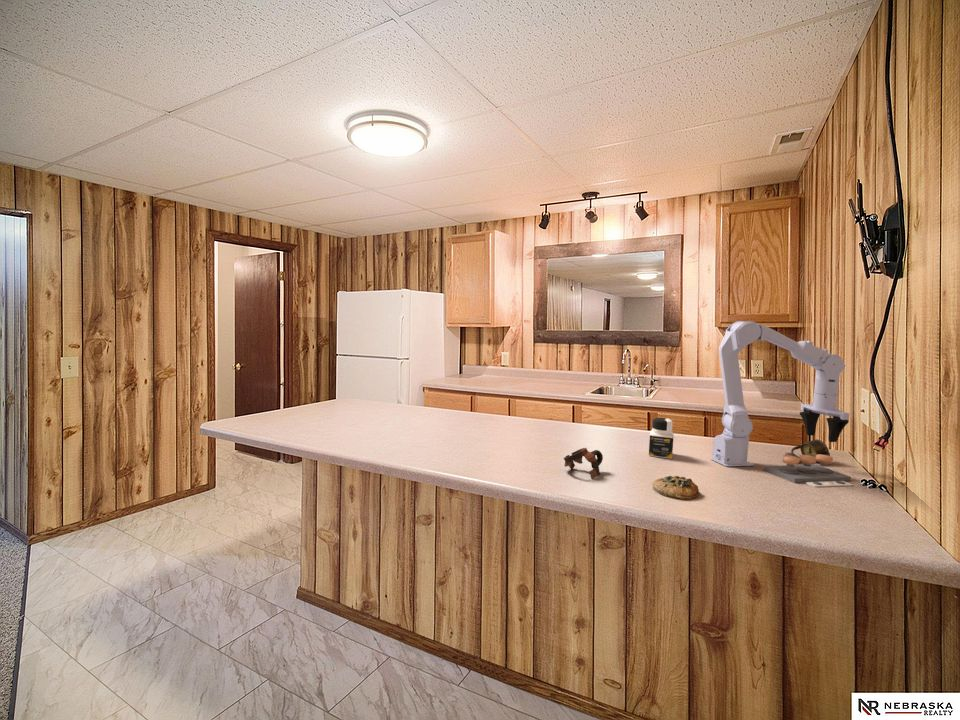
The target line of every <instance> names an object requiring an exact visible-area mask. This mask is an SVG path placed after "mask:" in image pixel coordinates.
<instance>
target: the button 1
mask: <svg viewBox="0 0 960 720" xmlns="http://www.w3.org/2000/svg"><path fill="white" fill-rule="evenodd" d="M798 457H799V456H798ZM798 457H795V456H790V455H785V454H784V455H782V463H785V464H786V466H789V467H794V465H800V462H799V459H800V458H798Z"/></svg>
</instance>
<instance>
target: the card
mask: <svg viewBox="0 0 960 720" xmlns="http://www.w3.org/2000/svg"><path fill="white" fill-rule="evenodd" d="M805 484H807V485H809V486H811V487H814V488H819V487H820V488H822V487H823V488H824V487H825V488H826V487H847V486H848V487H852V486H854V484H853V483H850V482H848V481H823V482H805Z"/></svg>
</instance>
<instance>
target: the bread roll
mask: <svg viewBox="0 0 960 720" xmlns="http://www.w3.org/2000/svg"><path fill="white" fill-rule="evenodd" d="M651 485H652V491H655V492H656V493H658V494H660V495H662V496H665V497H669V498H677V499H680V500H681V499H682V500H691V499H695V498H697V497H698V496H699V495H700V490H699V486H698V485H697V484H696V483H695V482H693V480H692V478H686V477H685V476H678V475H675V476H673V475H668V476H665V477H661V478H657V479H655V480H654V481H653V482H652V483H651Z"/></svg>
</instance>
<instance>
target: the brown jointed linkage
mask: <svg viewBox="0 0 960 720" xmlns="http://www.w3.org/2000/svg"><path fill="white" fill-rule="evenodd" d="M583 457H584V458H585V460H586V461H587V462H588V463H590V465H591V470H589V471H588V474H589V476H590V479H591V480H593V479H595V478H598V477H599V476H600V475H601V472H600V466H601V464H602V462H603V459H604V456H603V454H602V452H601V451H600V450H598V449H595V450H593V451H588V448H587V447H583V448H580V449H577V450H575V451H574V452H571V455H570V454H567V455H566V456H565V457H563V460H564V467H569V469H571V470H573V469H574V468H575V466H576V465H575V463H578V464H579V465H580V464H583ZM574 462H575V463H574Z"/></svg>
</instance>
